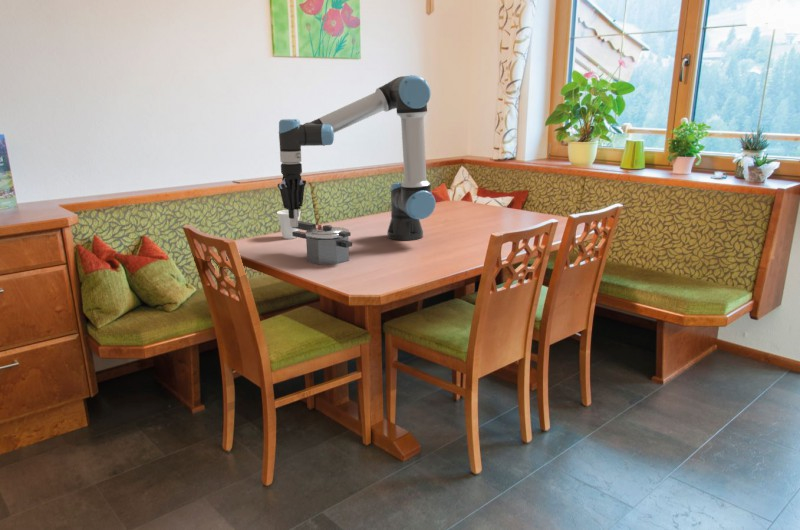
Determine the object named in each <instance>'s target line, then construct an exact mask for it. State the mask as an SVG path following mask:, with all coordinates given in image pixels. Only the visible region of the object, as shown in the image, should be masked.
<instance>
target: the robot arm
mask: <svg viewBox="0 0 800 530" xmlns="http://www.w3.org/2000/svg"><path fill="white" fill-rule="evenodd" d="M431 91H432V90H431V87H430V85H429V83H428V82H427V80H426V79H424V78H423V77H422V76H419V75H413V74H409V75H405V76H398V77H396V78H394V79H392V80H390V81H389V82H387V83H385V84H383V85H382V86H379V87H377V88H376V89H375V92H372V93H371V94H369V95H367V96H364V97H362V98H360V99H358V100H355V101H354V102H353V101H352V102H351V103H349V104H347V105H345V106H343V107H340V108H338V109H336V110H333V111H332V112H331V111H330V112H329V113H327V114H324V115H322V116H321V117H318V118H316V119H314V120H312V121H310V122H309V121H308V122H305V123H303V124H301V121H300V120H299V119H297V118H292V119H291V118H290V119H289V118H284V119H280V120H279V122H278V140H279V141H278V142H279V158H280V162H281V163H280V172H281V175H282V179H281V180H282V181H281V182H280V183H277V187H278V189H279V193H280V196H281V200H282V205H283V208H284V209H285V210H289V218H290V227H298V216H299V213H298V210H300V209H302V207H303V202H304V196H305V195H304V193H305V188H306V184H307V181H306V180H304V179H302V176H301V174H302V173H303V168H302V167H303V166H302V165H303V164H302V163H301V162H302V147H305V146H306V147H309V146H313V147H314V146H318V147H319V146H331V145H333V143H334V141H335V133H339V131H342V130H344V129H346V128H349V127H350V126H352V125H354V124H357V123H359V122H362V121H364V120H366V119H369V118H370V117H372V116H374V115H376V114H378V113H381V112H383V111H384V112H385V113H387V112H389V111H392V110H394V109H396V115H397V116H399V118H400V120H401V121H400V122H401V140H402V141H401V142H402V158H403V176H404V177H403V178H404V181H403V182H393V183H392V184H391V186H390V206H391V207H390V210H391V211H390V215H391V219H390V222H389V225H388V228H387V235H386V236H387V238H389V239H392V240H395V241H397V240H398V241H412V240H418V239H421V238H423V237H424V229H423V227H422V224H421V221H420V220H424V219H428V218H429V217H430V216H431V215H432V214H433V212H434V211H435V208H436V199H435V196H434V195H433V193H432V189H431V187H432V185H431V182H429V181H428V179H427V167H426V166H427V165H426V164H427V163H426V162H427V161H426V143H425V142H426V141H425V122H424V117H425V115H426V114H427V113H428V103H429V101H430V100H431V94H432V93H431Z"/></svg>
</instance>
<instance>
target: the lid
mask: <svg viewBox="0 0 800 530" xmlns="http://www.w3.org/2000/svg"><path fill="white" fill-rule="evenodd" d="M292 228H296V229H298V230H302V231H305V233H306V236H307V237H309V238H315V239H335V238H341V237H347V236H348V237H351V232H350V231H349V229H348V228H344V227H338V226H332V225H330V224H325V225H322V224H316V223H314V222H313V223H312V222H307V221H302V220H299V221H298V227H292Z"/></svg>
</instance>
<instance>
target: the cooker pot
mask: <svg viewBox="0 0 800 530" xmlns="http://www.w3.org/2000/svg"><path fill="white" fill-rule="evenodd" d="M292 234H293V236H295V237H297V238H300V239H305V242H306V257H307V259H306V260H307V262H308V263H311V264H316V265H318V266H319V265H338V264H341V263H345V262H348V261H350V247H353V241H350V239H349V236H347V237H341V238H335V239H315V238H309V237H307V236H306V231H305V232H304V231H299V230H298V231H295V232H292Z"/></svg>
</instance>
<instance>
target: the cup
mask: <svg viewBox="0 0 800 530" xmlns="http://www.w3.org/2000/svg"><path fill="white" fill-rule="evenodd" d="M301 212H302V211H301V210H300V209H298V213H299V216H298V221H300V219H301V218H300V217H301ZM276 214H277V217H278V222H279V225H280V230H281V235H282V237H283V239H286V240H293V239H297V238H298V237H295V236H293V234H292V232H295V231H299V229H296V228H292V227H290V218H289V210H288V209H283V210H278V211H276Z"/></svg>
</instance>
